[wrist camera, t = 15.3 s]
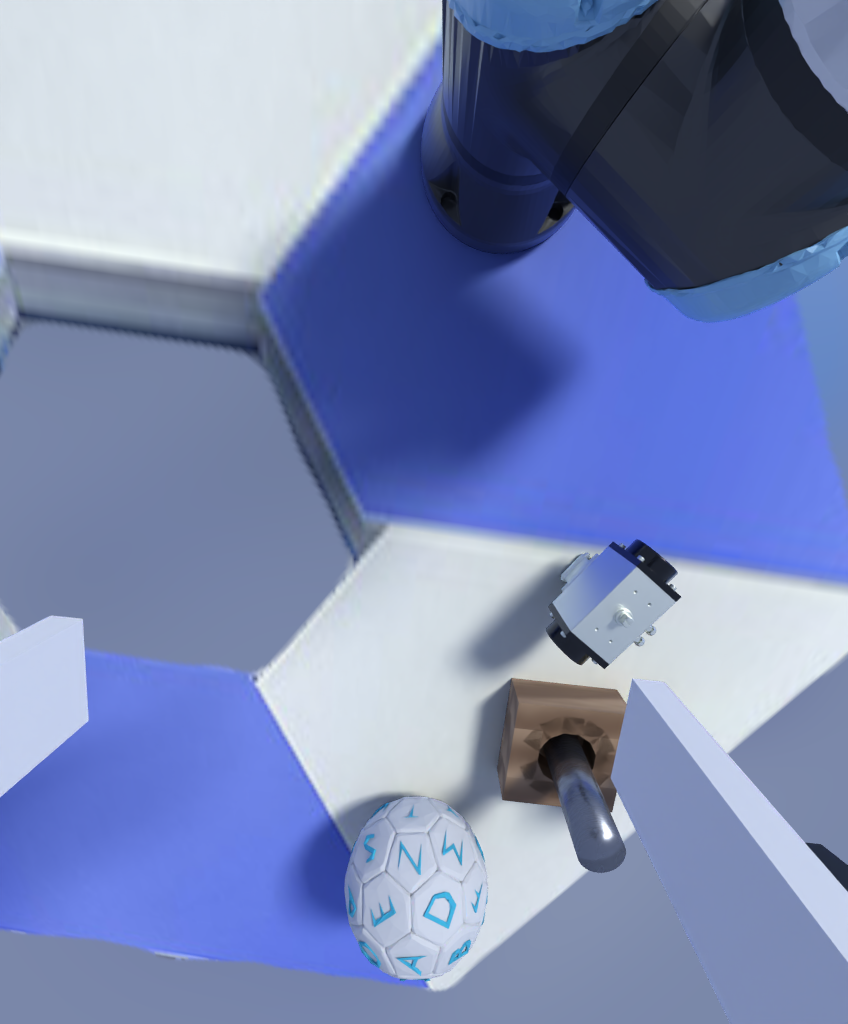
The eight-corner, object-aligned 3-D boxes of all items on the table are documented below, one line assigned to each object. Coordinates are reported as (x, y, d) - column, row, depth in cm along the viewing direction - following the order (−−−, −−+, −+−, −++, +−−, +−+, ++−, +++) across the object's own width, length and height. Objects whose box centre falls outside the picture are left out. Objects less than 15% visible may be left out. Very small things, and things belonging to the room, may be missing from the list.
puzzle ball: (374, 752, 53) (350, 878, 39) (495, 783, 54) (518, 919, 39) (346, 853, 56) (314, 1005, 42) (461, 881, 57) (470, 1041, 42)
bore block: (511, 678, 51) (518, 702, 46) (616, 689, 51) (633, 715, 46) (497, 768, 53) (502, 800, 49) (597, 779, 53) (612, 812, 49)
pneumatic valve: (527, 598, 49) (557, 654, 37) (605, 519, 47) (662, 552, 35) (564, 629, 50) (604, 694, 38) (642, 552, 48) (710, 596, 36)
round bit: (543, 719, 51) (581, 830, 37) (578, 723, 51) (630, 835, 37) (537, 749, 52) (573, 869, 38) (572, 753, 51) (620, 875, 38)
